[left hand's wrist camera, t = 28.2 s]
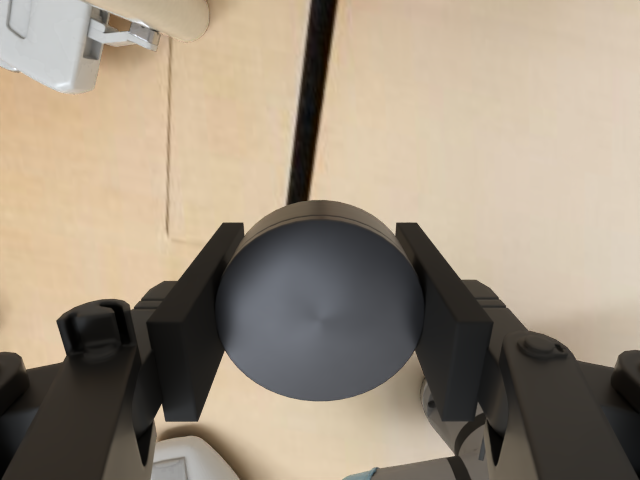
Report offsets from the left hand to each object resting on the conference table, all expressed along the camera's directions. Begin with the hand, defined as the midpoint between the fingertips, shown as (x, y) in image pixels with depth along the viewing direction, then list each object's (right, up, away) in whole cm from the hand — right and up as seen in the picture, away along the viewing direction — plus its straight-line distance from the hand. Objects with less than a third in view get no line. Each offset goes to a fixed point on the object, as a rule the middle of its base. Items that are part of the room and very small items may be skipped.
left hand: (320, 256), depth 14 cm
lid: (0, -1, -4) cm, 4 cm away
